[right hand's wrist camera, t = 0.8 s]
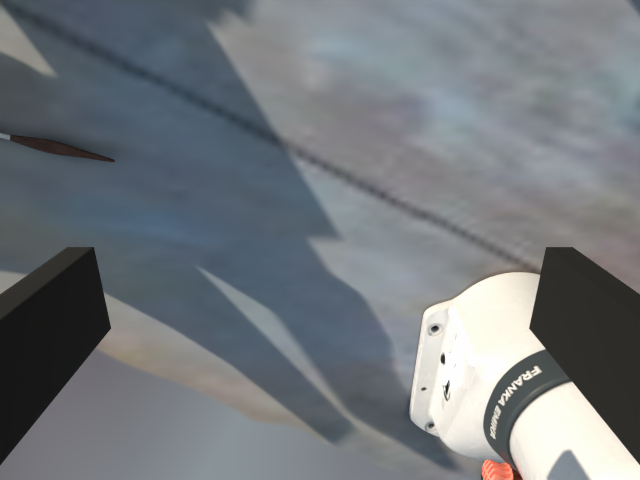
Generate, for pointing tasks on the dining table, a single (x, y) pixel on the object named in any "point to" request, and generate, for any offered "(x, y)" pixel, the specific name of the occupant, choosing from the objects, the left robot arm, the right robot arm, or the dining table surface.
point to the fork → (53, 147)
